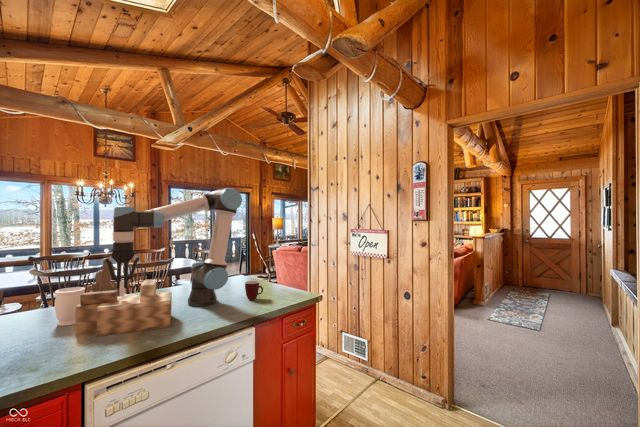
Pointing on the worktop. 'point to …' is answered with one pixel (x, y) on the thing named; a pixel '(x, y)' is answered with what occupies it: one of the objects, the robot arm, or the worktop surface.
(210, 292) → the robot arm
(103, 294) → the wooden block
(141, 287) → the lid
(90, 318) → the toolbox
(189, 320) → the worktop surface
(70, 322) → the jar
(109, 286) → the wooden toy
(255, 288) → the mug
